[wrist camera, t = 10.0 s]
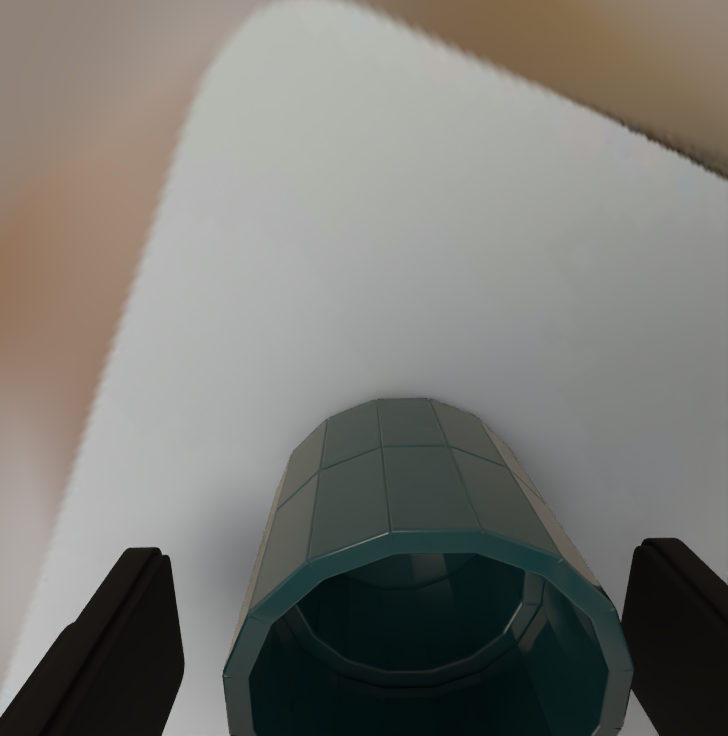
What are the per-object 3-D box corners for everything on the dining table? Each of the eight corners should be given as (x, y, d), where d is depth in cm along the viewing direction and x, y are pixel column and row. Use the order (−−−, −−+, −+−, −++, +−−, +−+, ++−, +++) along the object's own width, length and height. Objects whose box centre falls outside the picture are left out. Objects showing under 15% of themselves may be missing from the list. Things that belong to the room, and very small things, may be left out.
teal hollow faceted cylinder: (401, 338, 11) (440, 442, 6) (565, 499, 13) (712, 698, 7) (230, 504, 13) (139, 708, 7) (396, 634, 14) (420, 886, 9)
